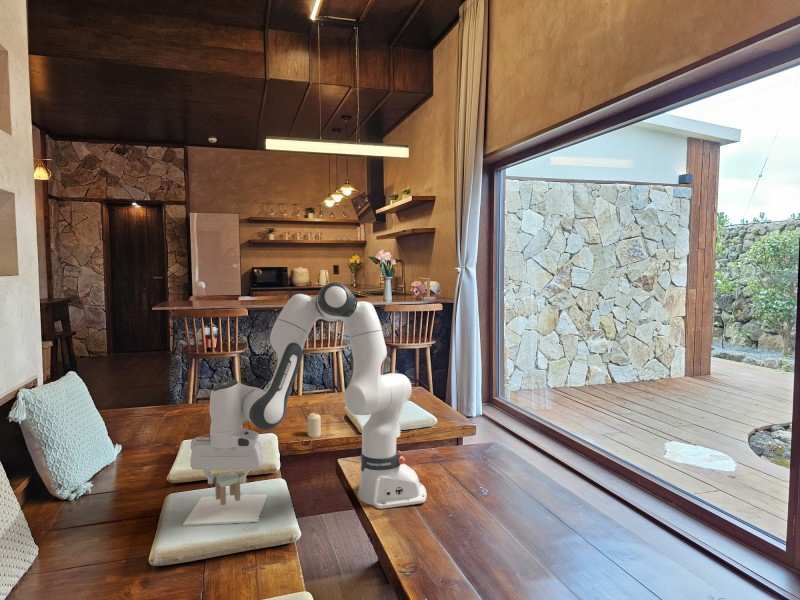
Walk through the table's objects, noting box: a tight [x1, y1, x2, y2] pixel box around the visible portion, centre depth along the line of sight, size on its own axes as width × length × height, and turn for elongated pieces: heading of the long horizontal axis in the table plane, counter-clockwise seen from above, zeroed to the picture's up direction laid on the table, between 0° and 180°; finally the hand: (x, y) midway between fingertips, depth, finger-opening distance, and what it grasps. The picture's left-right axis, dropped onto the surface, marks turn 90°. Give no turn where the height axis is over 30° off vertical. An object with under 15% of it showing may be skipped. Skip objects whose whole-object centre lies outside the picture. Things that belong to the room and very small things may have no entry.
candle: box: [307, 412, 322, 438], centre depth 205 cm, size 6×6×10 cm
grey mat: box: [182, 493, 269, 527], centre depth 143 cm, size 20×16×1 cm
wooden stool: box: [214, 470, 241, 505], centre depth 144 cm, size 6×6×7 cm
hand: (227, 482), depth 143 cm, fingers closed on wooden stool, 8 cm apart
